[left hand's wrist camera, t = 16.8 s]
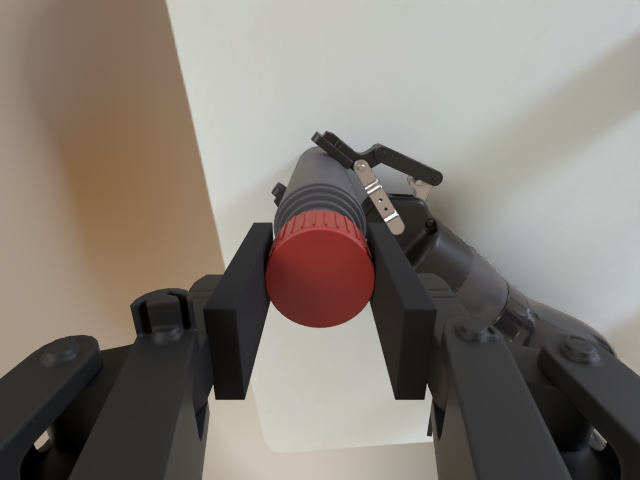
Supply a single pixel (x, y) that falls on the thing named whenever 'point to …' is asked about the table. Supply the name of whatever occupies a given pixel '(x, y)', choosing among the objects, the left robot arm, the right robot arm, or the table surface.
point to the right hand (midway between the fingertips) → (294, 162)
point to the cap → (319, 269)
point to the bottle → (319, 190)
